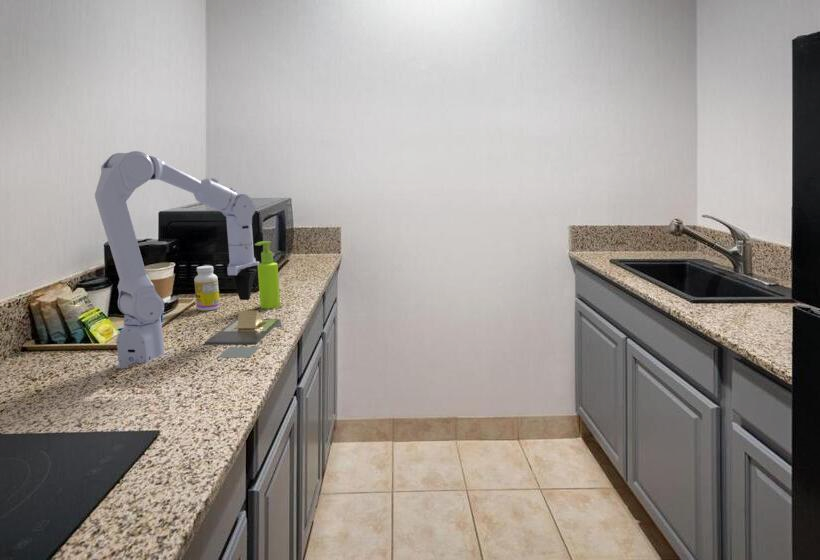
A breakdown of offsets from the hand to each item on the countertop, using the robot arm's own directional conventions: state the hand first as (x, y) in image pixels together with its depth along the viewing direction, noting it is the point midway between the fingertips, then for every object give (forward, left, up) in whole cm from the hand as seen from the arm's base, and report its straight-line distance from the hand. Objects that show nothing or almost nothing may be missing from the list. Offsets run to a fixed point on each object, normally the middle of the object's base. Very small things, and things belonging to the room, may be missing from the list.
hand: (244, 299), depth 134 cm
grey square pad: (-17, -4, -9) cm, 20 cm away
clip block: (+1, 0, -8) cm, 8 cm away
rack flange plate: (-1, 0, -9) cm, 9 cm away
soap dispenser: (+32, +4, -10) cm, 33 cm away
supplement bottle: (+30, +22, -10) cm, 38 cm away
